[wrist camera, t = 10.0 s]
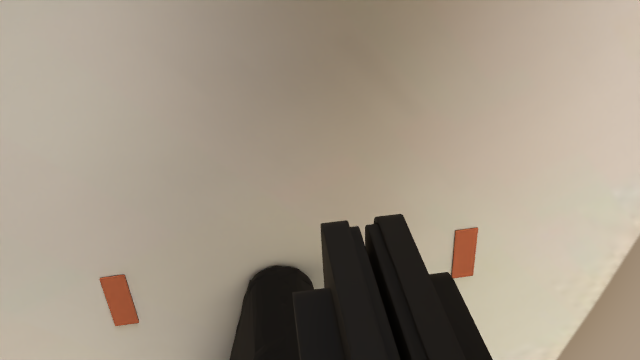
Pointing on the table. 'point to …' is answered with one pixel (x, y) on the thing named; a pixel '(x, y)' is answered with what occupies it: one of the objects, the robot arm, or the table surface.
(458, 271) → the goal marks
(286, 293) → the film camera
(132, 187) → the table surface
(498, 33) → the table surface
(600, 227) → the table surface
